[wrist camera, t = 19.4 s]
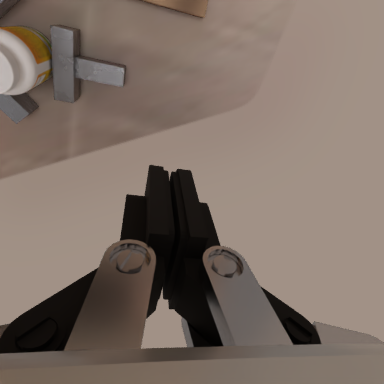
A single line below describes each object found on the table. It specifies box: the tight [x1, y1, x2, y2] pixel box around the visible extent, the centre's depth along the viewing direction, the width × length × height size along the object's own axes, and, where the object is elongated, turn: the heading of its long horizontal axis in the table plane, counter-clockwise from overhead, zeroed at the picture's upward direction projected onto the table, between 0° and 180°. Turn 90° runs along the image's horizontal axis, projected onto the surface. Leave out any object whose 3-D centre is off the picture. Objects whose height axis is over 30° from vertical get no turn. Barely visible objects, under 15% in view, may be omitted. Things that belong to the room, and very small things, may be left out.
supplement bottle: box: [0, 26, 53, 95], centre depth 24 cm, size 5×5×10 cm
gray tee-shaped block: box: [50, 25, 126, 103], centre depth 28 cm, size 7×7×3 cm
